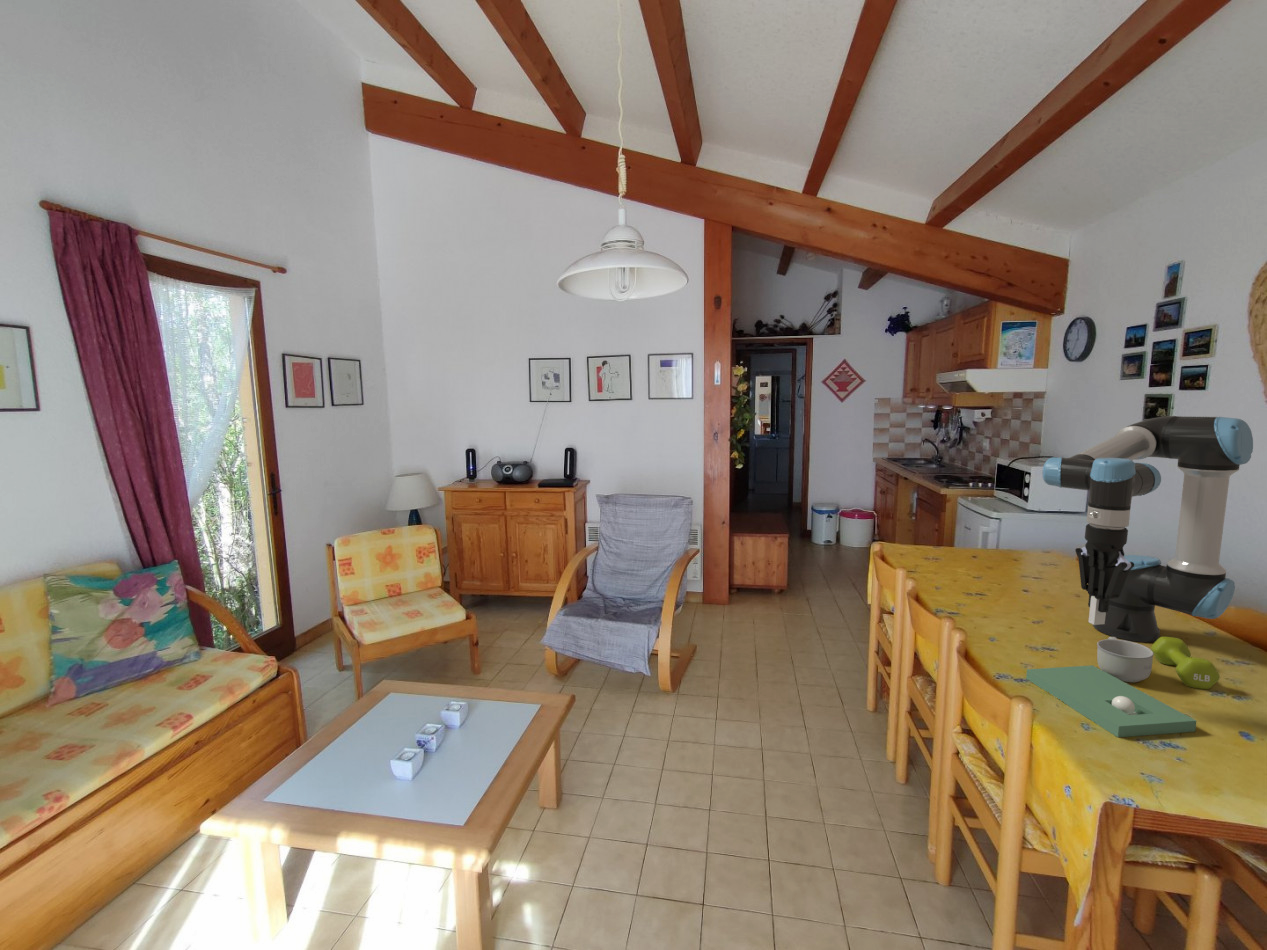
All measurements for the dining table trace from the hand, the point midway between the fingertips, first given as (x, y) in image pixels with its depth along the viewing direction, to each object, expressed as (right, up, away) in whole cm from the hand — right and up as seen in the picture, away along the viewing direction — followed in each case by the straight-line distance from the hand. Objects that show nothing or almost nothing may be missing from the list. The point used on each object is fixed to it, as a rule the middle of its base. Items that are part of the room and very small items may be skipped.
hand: (1096, 623), depth 135 cm
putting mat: (0, -18, -1) cm, 18 cm away
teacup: (+16, -16, +12) cm, 26 cm away
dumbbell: (+31, -16, +11) cm, 37 cm away
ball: (0, -17, -7) cm, 18 cm away
